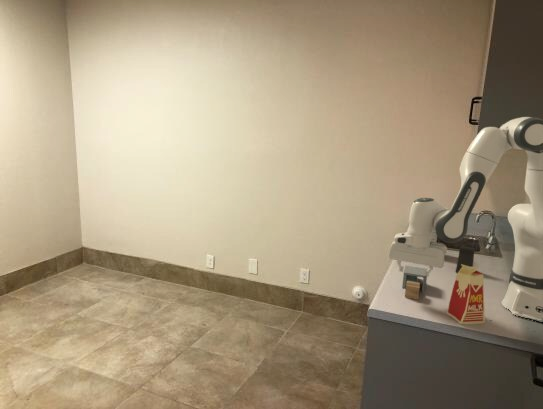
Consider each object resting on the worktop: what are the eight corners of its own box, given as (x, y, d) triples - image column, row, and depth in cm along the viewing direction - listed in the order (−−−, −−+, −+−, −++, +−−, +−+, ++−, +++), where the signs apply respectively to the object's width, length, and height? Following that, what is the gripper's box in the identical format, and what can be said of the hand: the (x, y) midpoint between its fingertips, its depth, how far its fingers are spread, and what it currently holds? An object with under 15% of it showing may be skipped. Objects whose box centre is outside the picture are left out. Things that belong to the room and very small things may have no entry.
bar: (407, 276, 176) (408, 268, 175) (416, 278, 174) (417, 269, 174) (405, 292, 159) (406, 283, 158) (415, 294, 158) (416, 285, 157)
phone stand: (469, 275, 179) (473, 250, 176) (455, 272, 182) (458, 247, 180) (472, 269, 186) (476, 245, 184) (458, 266, 190) (462, 243, 187)
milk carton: (484, 323, 136) (493, 268, 132) (461, 325, 134) (469, 270, 130) (466, 310, 145) (474, 259, 141) (444, 312, 143) (451, 260, 139)
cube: (405, 292, 159) (406, 280, 158) (418, 294, 157) (419, 283, 156) (404, 297, 155) (405, 285, 154) (418, 299, 153) (419, 287, 152)
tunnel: (403, 280, 171) (405, 265, 170) (425, 283, 168) (427, 268, 166) (402, 287, 163) (403, 272, 162) (425, 292, 160) (427, 276, 158)
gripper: (447, 242, 150) (442, 276, 153) (392, 233, 157) (387, 266, 160) (448, 246, 144) (442, 281, 147) (390, 237, 151) (386, 271, 154)
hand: (413, 273), depth 154 cm, fingers open, 8 cm apart
